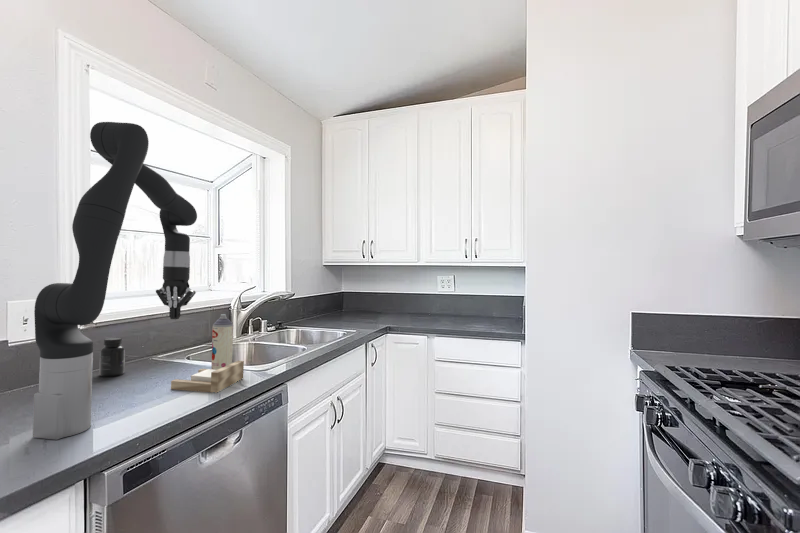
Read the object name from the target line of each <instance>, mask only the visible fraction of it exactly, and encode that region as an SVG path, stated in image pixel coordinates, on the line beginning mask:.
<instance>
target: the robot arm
mask: <svg viewBox="0 0 800 533" xmlns="http://www.w3.org/2000/svg"><path fill="white" fill-rule="evenodd" d="M89 138H90V142H91V145H92V147H93V148H94V150H95V151H96V152H97V153H98V155H99V156H101V158H103V159H104V160H105V161H106V162H108V163H109V164H110V165H111V166H110V168H109V170H107V172H106V173H105V174H104V175H103V177H101V178H100V179H99V180H98V181H96V183H94V184H93V185H92V186H91V187H90V188H89V189H88V190H87V191H86V192H85V193H84V194H83V195H82V196H81V198H80V200H79V202H78V206H77V208H76V210H75V214H74V217H73V220H72V224H71V226H72V228H71V229H72V234H73V239H74V242H75V245H76V248H77V253H78V266H77V269H76V273H75V276H74V278H73V281H72V283H68V282H66V283H65V282H56V283H55V282H54V283H50V284H47V285H46V286H44V287H43V288H42V289H41V290H40V291H39V293H38V294H37V297H36V298H35V303H34V335H35V336H34V338H35V343H36V346H37V348H38V349H39V375H38V376H39V377H38V381H39V382H38V391H37V392H36V393H34V394H33V415H32V417H33V418H32V419H33V420H32V438H36V439H37V438H38V439H47V440H48V439H49V440H55V441H56V440H60V439H62V438H66V437H70V436H76V435H78V434H80V433H83V432H86V431H87V430H89V429H90V428H91V426H92V397H93V396H92V391H93V365H94V364H93V363H94V362H93V361H94V342H93V340H92V339H91V338H89V337H87V336H86V335H84V334H83V332H81V331H80V329H79V326H87V325H90V324H91V323H93V322H94V321H95V320H96V319H97V318H98V317H99V316H100V315H101V312H102V311H103V307H104V304H105V299H106V294H107V288H108V282H109V278H110V277H109V276H110V272H111V267H112V262H113V257H114V255H115V250H116V246H117V243H118V239H119V236H120V233H121V230H122V227H123V224H124V220H125V218H126V217H125V216H126V212H127V207H128V205H129V201H130V198H131V195H132V191H133V189H134V185H136V186H137V187H138V188H139V189H140V190H141V191H142V192H143V193H144V194H145V195H146V197H147V198H148V199H149V200H150V201H151V202H152V203H153V205H154V206H155V207H156V208H158V209H159V220H160V225H161V226H162V231H163V232H162V233H163V235H164V252H163V253H164V254H163V263H162V264H163V265H162V266H163V268H162V279H163V283H162V287H161V288H159V289H155V294H156V295H157V296H158V298H159V300H160V301H161V302H162V304H163V306H166V307H169V308H168V309H169V311H168V312H169V314H168V315H169V318H170V320H179V319H180V317H181V310H182V309H181V308H182V307H184V306H187V305H188V304H189V302H190V301H191V300H192V298H193V297H194V296H195V295H196V292H197V291H195V290H193V289H191V288H190V284H189V281H190V272H191V271H190V270H191V267H190V265H191V256H190V247H191V246H190V245H191V243H190V241H191V240H190V238H191V237H190V235H189V234H187V233H183V232H180V231H179V230H178V229H177V228H178V227H179V226H181V227H182V226H183V227H188V226H190V227H191V226H192V225H194V224H195V223H196V221H197V220H198V219H197V218H198V213H197V210H196V208H195V207H194V205H193V204H192V203H191V202H189V201H188V200H187V199H185V198H184V197H183V196H181V195H180V194H178V193H177V192H176V191H175V189H174V188H173V186H172V185H171V184H170V183H169V181H167V179H166V178H164V176H163V175H161V174H159V173H158V172H157V171H155V170H153V169H152V168H150V167H149V166H147V165H145V164H144V162H145V160H146V157H147V154H148V151H149V136H148V134H147V131H146V130H145V128H144V127H142V125H139V124H137V123H130V122H120V121H119V122H115V121H100V122H97V123H95V124H94V125H93V126H92V127H91V129H90V133H89ZM177 226H178V227H177Z"/></svg>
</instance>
